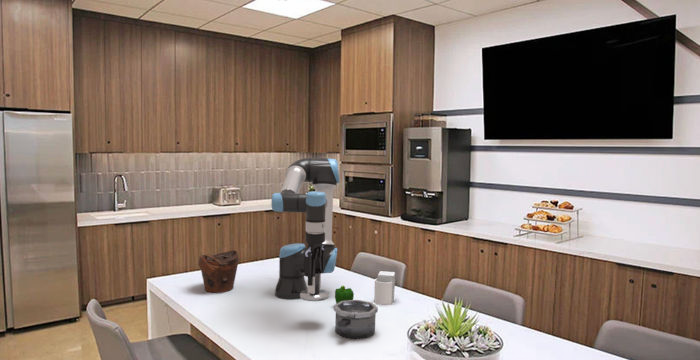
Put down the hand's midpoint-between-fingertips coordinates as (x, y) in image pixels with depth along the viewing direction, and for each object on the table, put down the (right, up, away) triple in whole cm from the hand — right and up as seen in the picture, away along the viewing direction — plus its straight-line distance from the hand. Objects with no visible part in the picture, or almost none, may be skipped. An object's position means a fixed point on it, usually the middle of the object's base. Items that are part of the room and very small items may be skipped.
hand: (314, 291), depth 185 cm
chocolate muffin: (-49, -9, +43) cm, 66 cm away
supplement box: (+30, -12, +32) cm, 45 cm away
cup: (+30, -12, +31) cm, 45 cm away
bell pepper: (+11, -12, +22) cm, 27 cm away
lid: (0, -2, 0) cm, 2 cm away
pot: (+16, -14, -5) cm, 22 cm away
